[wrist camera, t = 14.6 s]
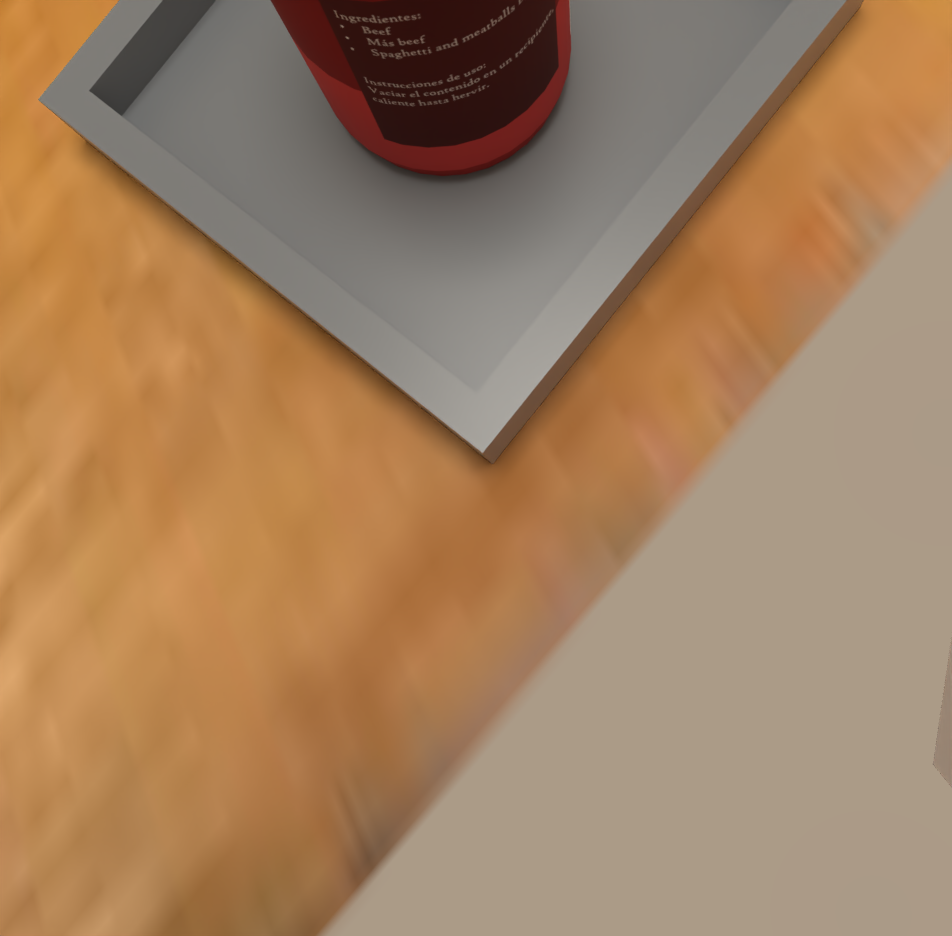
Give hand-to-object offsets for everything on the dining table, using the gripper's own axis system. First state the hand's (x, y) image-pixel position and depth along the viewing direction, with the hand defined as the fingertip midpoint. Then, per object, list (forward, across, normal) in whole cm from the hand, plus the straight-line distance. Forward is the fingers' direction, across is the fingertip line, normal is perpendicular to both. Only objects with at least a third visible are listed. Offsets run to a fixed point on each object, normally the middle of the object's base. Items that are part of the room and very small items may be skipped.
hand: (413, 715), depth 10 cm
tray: (+22, +2, +9) cm, 23 cm away
